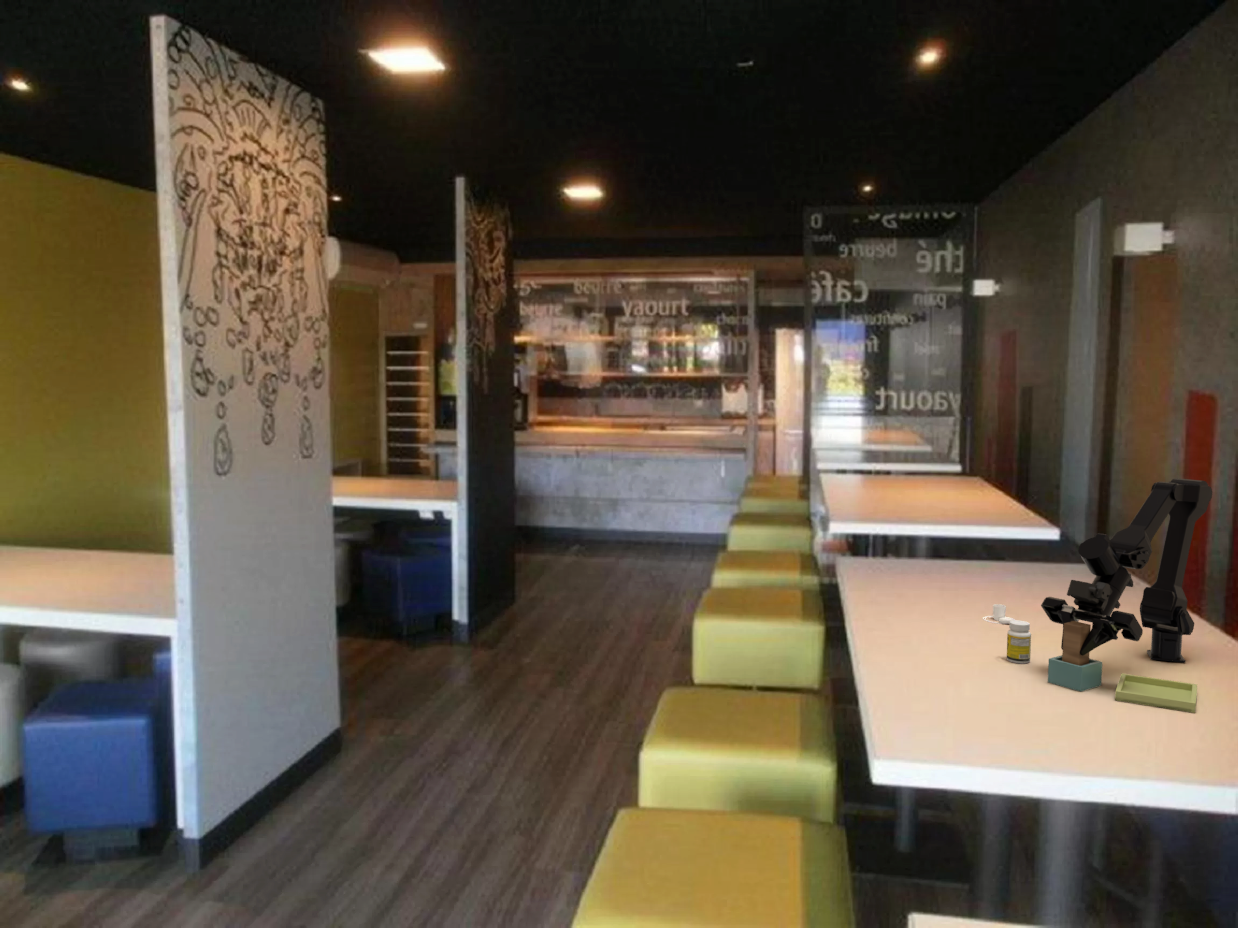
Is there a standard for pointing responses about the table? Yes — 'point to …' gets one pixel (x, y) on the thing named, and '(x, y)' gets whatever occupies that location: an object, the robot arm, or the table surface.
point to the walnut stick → (1075, 642)
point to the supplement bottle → (1019, 642)
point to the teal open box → (1074, 674)
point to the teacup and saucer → (999, 615)
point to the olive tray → (1157, 692)
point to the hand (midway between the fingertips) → (1071, 651)
